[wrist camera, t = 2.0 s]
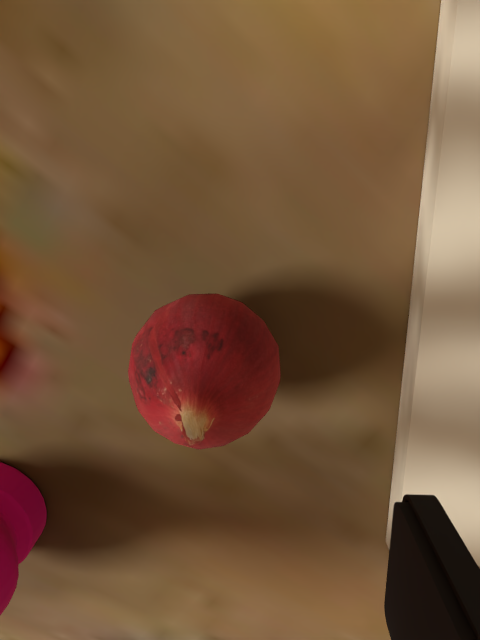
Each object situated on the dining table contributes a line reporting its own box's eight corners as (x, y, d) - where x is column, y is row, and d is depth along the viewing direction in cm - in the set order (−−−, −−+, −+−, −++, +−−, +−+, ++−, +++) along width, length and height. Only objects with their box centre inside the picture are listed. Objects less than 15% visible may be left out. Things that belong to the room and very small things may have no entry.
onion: (132, 345, 20) (52, 438, 12) (202, 251, 18) (161, 290, 11) (227, 412, 21) (208, 539, 13) (301, 328, 19) (329, 415, 11)
